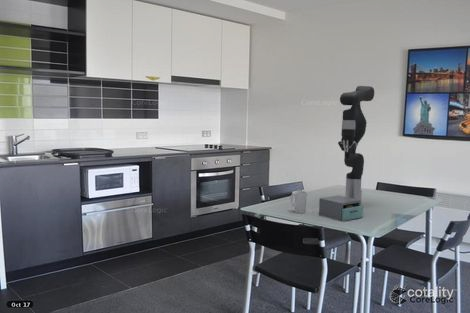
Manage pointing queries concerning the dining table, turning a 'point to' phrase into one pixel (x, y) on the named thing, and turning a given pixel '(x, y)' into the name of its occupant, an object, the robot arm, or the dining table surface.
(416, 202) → the dining table surface
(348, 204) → the walnut block
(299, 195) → the mug
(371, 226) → the dining table surface
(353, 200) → the grey drawer box
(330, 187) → the dining table surface
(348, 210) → the teal drawer
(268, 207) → the dining table surface
